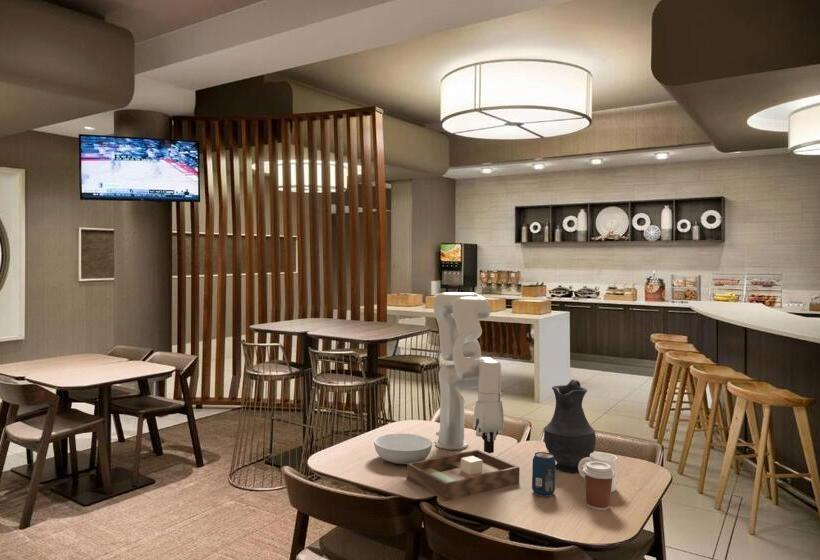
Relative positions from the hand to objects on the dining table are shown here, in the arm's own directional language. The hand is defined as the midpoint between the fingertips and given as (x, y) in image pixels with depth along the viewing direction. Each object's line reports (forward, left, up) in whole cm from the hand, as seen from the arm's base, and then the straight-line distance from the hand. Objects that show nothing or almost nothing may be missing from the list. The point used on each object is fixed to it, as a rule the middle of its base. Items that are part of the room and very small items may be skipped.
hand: (488, 452), depth 192 cm
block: (-1, -7, -5) cm, 9 cm away
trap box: (-1, -10, -8) cm, 13 cm away
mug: (+25, +24, -8) cm, 36 cm away
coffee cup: (+35, +12, -8) cm, 38 cm away
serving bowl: (-28, -16, -8) cm, 33 cm away
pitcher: (+8, +31, -8) cm, 33 cm away
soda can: (+20, +5, -8) cm, 22 cm away
